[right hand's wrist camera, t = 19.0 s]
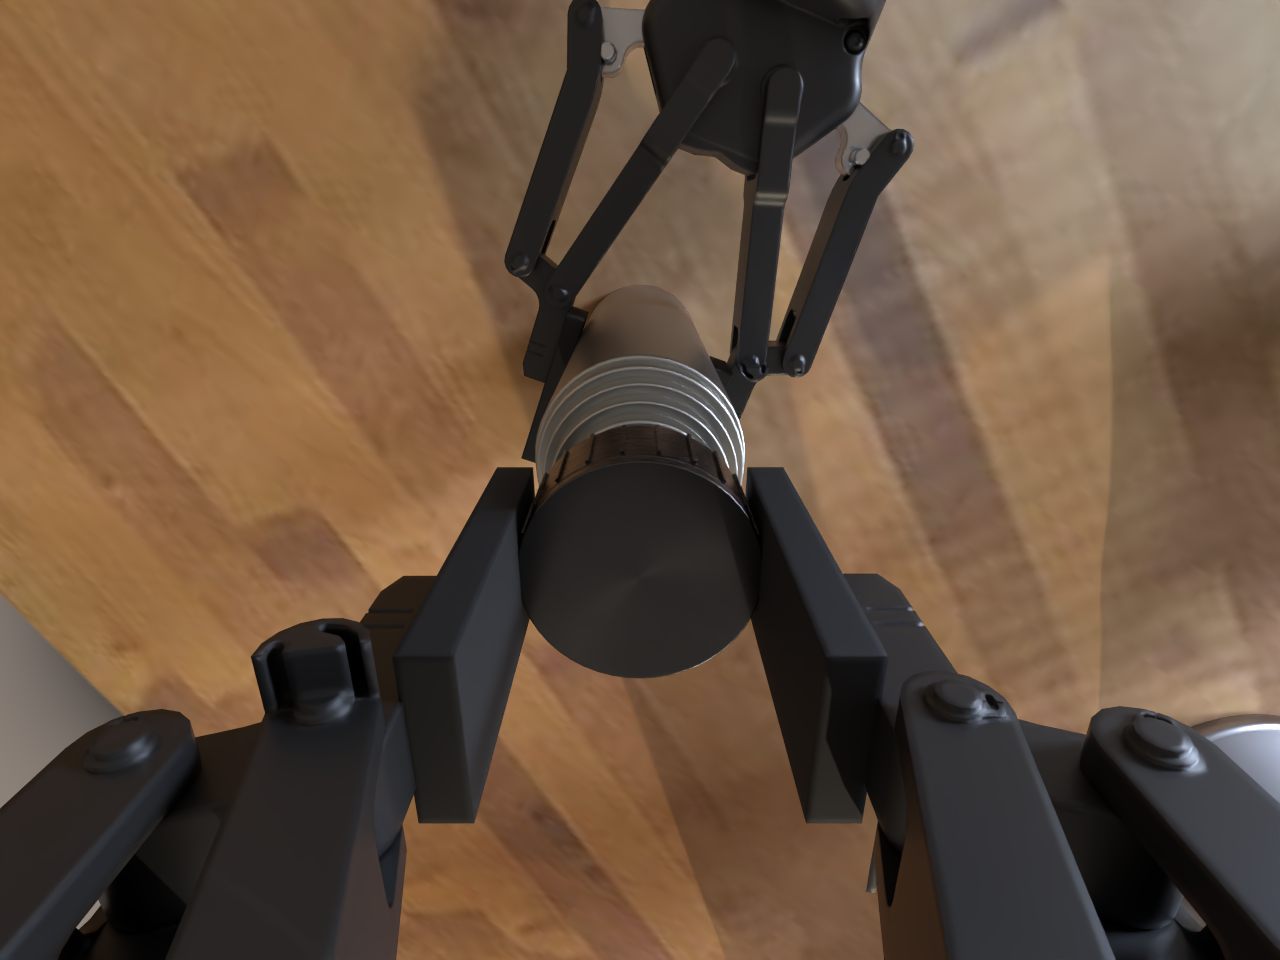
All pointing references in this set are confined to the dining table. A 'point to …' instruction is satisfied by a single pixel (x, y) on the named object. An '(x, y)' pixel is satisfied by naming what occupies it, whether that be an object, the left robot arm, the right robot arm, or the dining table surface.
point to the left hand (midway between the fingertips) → (602, 472)
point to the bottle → (640, 380)
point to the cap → (640, 554)
